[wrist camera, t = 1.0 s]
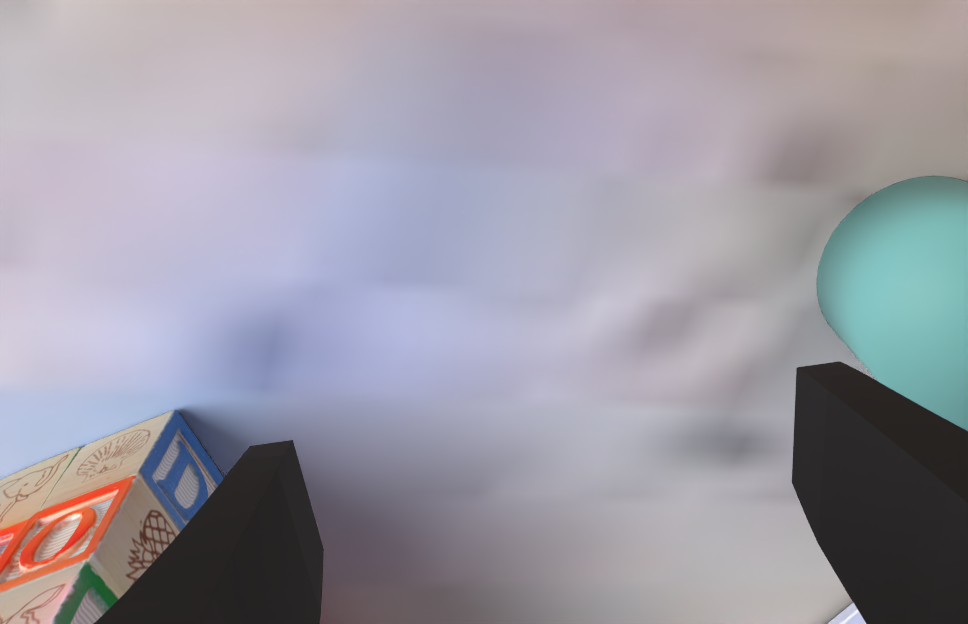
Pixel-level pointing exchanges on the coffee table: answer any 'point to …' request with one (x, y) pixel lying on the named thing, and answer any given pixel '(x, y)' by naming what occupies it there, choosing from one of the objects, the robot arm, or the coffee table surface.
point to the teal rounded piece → (905, 290)
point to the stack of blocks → (97, 520)
